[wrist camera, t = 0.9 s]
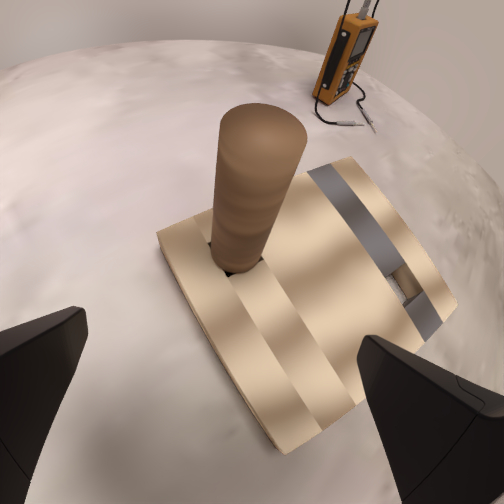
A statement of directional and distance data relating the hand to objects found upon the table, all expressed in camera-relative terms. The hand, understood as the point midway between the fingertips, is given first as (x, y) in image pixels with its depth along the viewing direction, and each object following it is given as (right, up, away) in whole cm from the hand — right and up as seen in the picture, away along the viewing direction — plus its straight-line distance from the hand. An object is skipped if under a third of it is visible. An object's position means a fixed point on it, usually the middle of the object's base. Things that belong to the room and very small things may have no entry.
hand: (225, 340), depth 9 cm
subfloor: (+6, 0, +16) cm, 17 cm away
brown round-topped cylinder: (-1, +2, +15) cm, 15 cm away
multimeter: (+15, +23, +28) cm, 39 cm away
